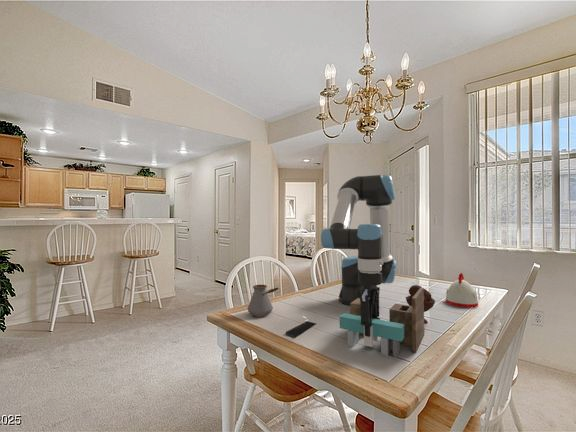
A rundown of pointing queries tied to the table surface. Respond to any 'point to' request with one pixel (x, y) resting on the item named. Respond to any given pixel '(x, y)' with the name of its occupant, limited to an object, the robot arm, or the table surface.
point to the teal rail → (376, 329)
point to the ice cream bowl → (427, 298)
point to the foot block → (356, 309)
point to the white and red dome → (461, 294)
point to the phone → (299, 329)
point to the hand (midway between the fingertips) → (370, 342)
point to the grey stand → (385, 343)
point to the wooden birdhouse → (410, 320)
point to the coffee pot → (260, 301)
